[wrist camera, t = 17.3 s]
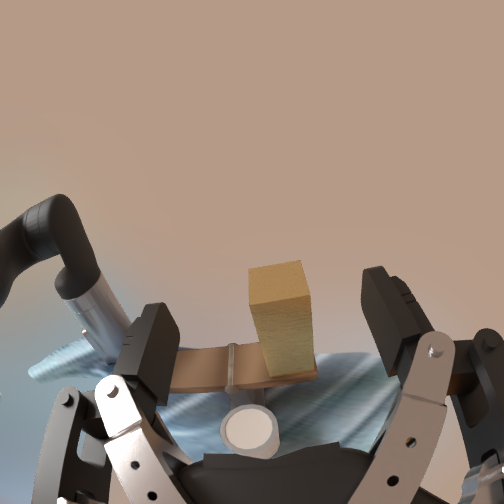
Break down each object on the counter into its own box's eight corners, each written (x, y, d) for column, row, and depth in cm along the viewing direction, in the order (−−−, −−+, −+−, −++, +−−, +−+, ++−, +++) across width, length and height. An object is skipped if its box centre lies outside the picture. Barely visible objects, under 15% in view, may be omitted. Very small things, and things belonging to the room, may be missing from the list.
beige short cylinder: (241, 471, 26) (227, 460, 23) (229, 430, 32) (214, 412, 28) (291, 455, 27) (286, 442, 24) (275, 416, 33) (267, 396, 29)
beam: (309, 339, 34) (308, 331, 33) (318, 382, 28) (318, 375, 27) (166, 355, 35) (162, 349, 34) (158, 395, 30) (152, 390, 29)
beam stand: (263, 376, 39) (253, 346, 35) (266, 421, 33) (255, 397, 28) (232, 380, 40) (217, 350, 35) (231, 423, 33) (213, 400, 29)
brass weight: (307, 338, 32) (300, 260, 26) (314, 371, 28) (310, 294, 21) (267, 345, 32) (248, 269, 26) (270, 378, 28) (249, 304, 22)
